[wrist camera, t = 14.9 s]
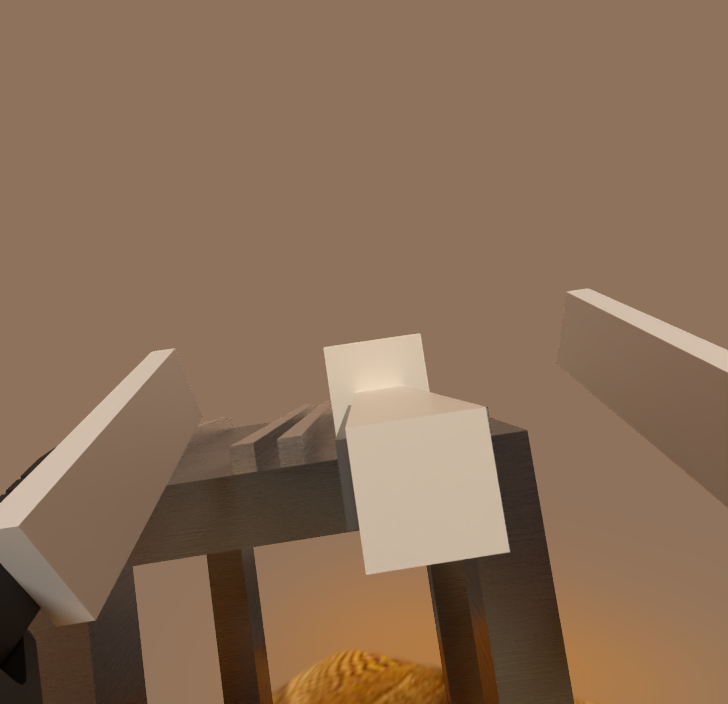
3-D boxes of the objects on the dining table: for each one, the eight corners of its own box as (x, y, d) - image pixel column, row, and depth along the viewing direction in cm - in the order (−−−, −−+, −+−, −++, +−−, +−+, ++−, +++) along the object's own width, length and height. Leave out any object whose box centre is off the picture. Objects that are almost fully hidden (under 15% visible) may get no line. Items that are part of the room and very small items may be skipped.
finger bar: (581, 540, 6) (530, 258, 7) (293, 586, 6) (255, 298, 6) (414, 414, 25) (403, 344, 25) (343, 425, 25) (333, 354, 25)
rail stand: (664, 1229, 14) (522, 402, 15) (75, 1349, 13) (-1, 481, 15) (482, 719, 34) (430, 386, 35) (246, 760, 33) (205, 419, 35)
